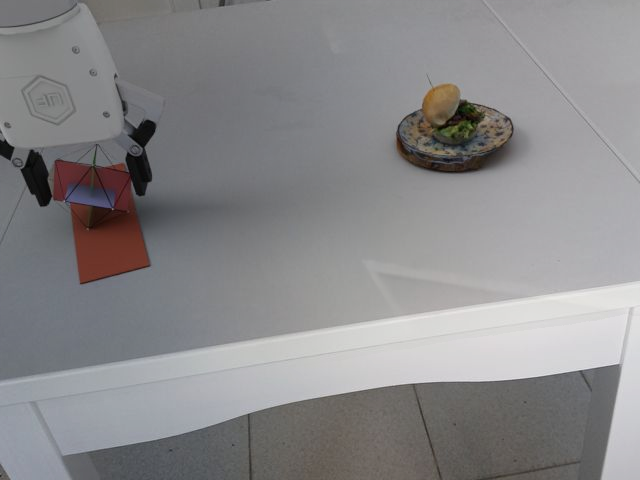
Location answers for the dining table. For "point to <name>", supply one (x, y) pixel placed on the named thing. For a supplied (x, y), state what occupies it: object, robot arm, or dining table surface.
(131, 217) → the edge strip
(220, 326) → the dining table surface
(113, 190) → the geometric puzzle
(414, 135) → the burger
